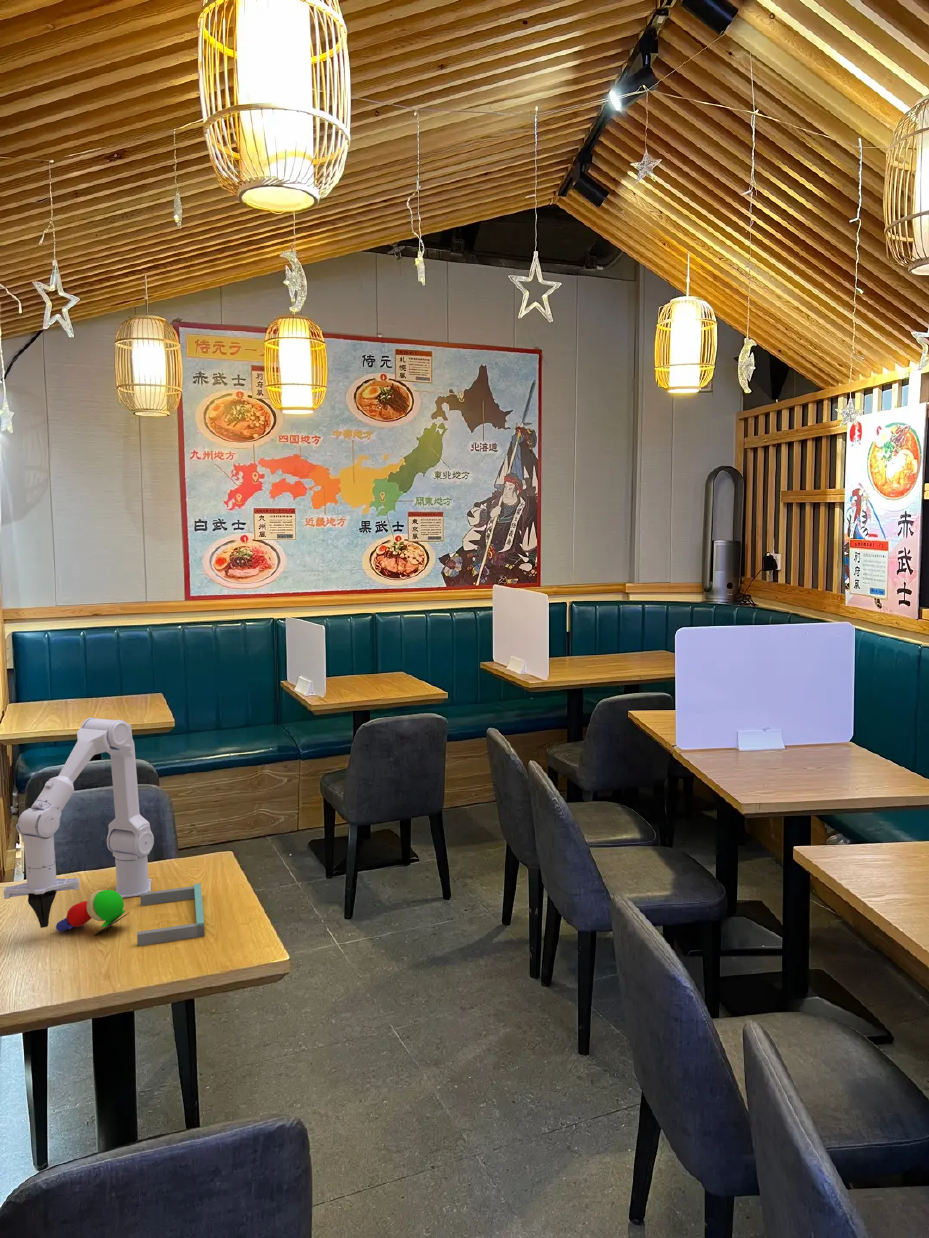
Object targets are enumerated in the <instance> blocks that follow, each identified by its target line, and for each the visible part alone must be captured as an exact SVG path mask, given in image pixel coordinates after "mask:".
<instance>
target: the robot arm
mask: <svg viewBox="0 0 929 1238" xmlns="http://www.w3.org/2000/svg"><path fill="white" fill-rule="evenodd" d="M76 738H77V741H76V742H75V745H74V746H73V749H72V750H71V752H70V754H69V756H68V757H67V760H66V762H65V763H64V765H63V766H62V769H61V770H60V771H59V774H58V775H57V776H54V777H51V778H48V781H47V780H46V782H45V784H44V787H43V788H42V791H41V792H40V794H39V795H38V797H37V798H36V799H35V800H34V802H33V804H32V805H31V807H30V808H27V809H25V810H24V811H22V813H21V814H20V815H19V817H18V820H17V824H16V825H15V827H16V830H17V833H18V834H20V836H21V842H23V845H24V848H23V849H24V860H25V862H24V863H25V875H26V882H24V883H20V884H15V885H9V886H4V889H3V899H4V900H9V899H10V898H14V897H22V896H24V897H25V896H27V902H28V904H29V906H30V908H32V910H33V912H34V913H35V916H36V918H37V921H38V923H39V927H40V929H41V928H42V929H43V928H47V927H49V923H50V914H51V909H52V906H53V903H54V900H55V898H56V895H57V892H61V891H62V892H63V891H69V890H70V891H71V890H73V891H79V889H80V878H79V877H78V878H77V877H75V878H57V867H56V853H55V852H56V851H55V838H54V837H55V836H54V834H56V832H57V830H58V829H59V827H60V821H61V817H62V811H63V810H64V808H65V806H66V805H67V803H68V802H69V800H70V799H71V797H72V795H73V794H74V791H75V787H74V783H75V781H76V779H77V778H78V777H79V775H80V774H81V773H82V771H83V770H84V769H85V767H86V766H87V764H88V763H89V762H90V761H91V759H92V758H93V757H94V756H95V755H99V754H103V753H107V754H109V756H110V765H111V767H110V768H111V778H112V780H111V781H112V792H113V803H114V804H113V805H114V816H115V817H114V819H113V820H112V821H111V822H110V823H109V824H108V825H107V827H108V832H107V833H108V834H107V837H106V846H107V849H108V850H109V852H111V853H112V857H114V858H115V859H114V860H115V874H116V886H115V891H116V892H117V893H119V894H120V895H121V897H122V899H124V898H132V897H138V896H139V897H140V893H146V892H152V891H151V890H152V889H151V888H152V878H149V863H148V855H150V852H151V851H152V849H153V846H154V843H155V837H154V834H153V832H152V830H151V824H150V822H149V821H148V820H147V819H146V818H144V817H143V816H142V815H141V814H140V813H141V812H140V803H139V801H140V799H139V787H138V786H139V785H138V775H137V773H138V772H137V762H136V750H135V749H136V748H135V741H134V739H133V731H132V725H131V724H130V723H128V722H127V721H125V720H122V719H106V718H96V717H88V718H86V719H85V720H84V721H82V724H81V726H80V728H79V729H78V730H77V732H76Z"/></svg>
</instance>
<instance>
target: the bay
mask: <svg viewBox="0 0 929 1238" xmlns="http://www.w3.org/2000/svg"><path fill="white" fill-rule="evenodd" d="M139 898H140V907H143V906H151V905H152V906H153V905H159V904H166V903H172V902H173V903H174V902H179V901H180V902H181V901H187V900H194V907H195V908H194V909H195V920H196V922H195V923H189V924H182V925H174V926H169V927H167V926H166V927H161V928H160V927H159V928H153V929H148V930H141V931H137V932H136V939H137V941H136V942H137V947H142V946H149V945H157V944H161V943H169V942H175V941H180V940H181V941H182V940H188V939H189V940H190V939H194V938H195V939H196V938H201V937H205V935H206V934H205V920H204V919H205V918H204V916H205V915H204V907H203V906H204V905H203V895H202V885H201V883H199V882H198V883H194V884H193V885H191V886H183V887H175V888H169V889H168V888H167V889H164V890H163V889H162V890H154V891H151V892H146V893H140V896H139Z"/></svg>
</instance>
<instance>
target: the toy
mask: <svg viewBox="0 0 929 1238" xmlns="http://www.w3.org/2000/svg"><path fill="white" fill-rule="evenodd" d="M124 907H125V906H124V898H122V897H121V895H120V894H119V893H117V892H116V890H113V889H105V890H104V889H98V890H96V891H94V892H93V893H92V894H91V895H90V896H89V898H88V899H87V900H83V901H80V902H79V903H76V904H74V905H72V906H71V907H70V908H69V909H68V911H67V914H66V916H65V918H63V919H61V920H60V921H58V922H56V925H55V929H56V931H58V932H61V933H63V932H64V931H67V930H71V929H72V928H75V927H76V928H77V927H82V926H83V925H86V924H87V922H89V921H90V920H91V919H93V920H95V921H98V922H103V924H102V925H101V928H102V929H101V930H99V931H98V932H97V933H95V935H98V934H100V932H102V931H104V930H105V929H107V928H109V927H111V926H113V925H114V924H116V923H118V922H119V921H121V920H122V919H123V918H124V917H126V916H128V915H129V914H130V912H128V913H126V914H125V915H124V913H125V912H126V910H125V909H124Z"/></svg>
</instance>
